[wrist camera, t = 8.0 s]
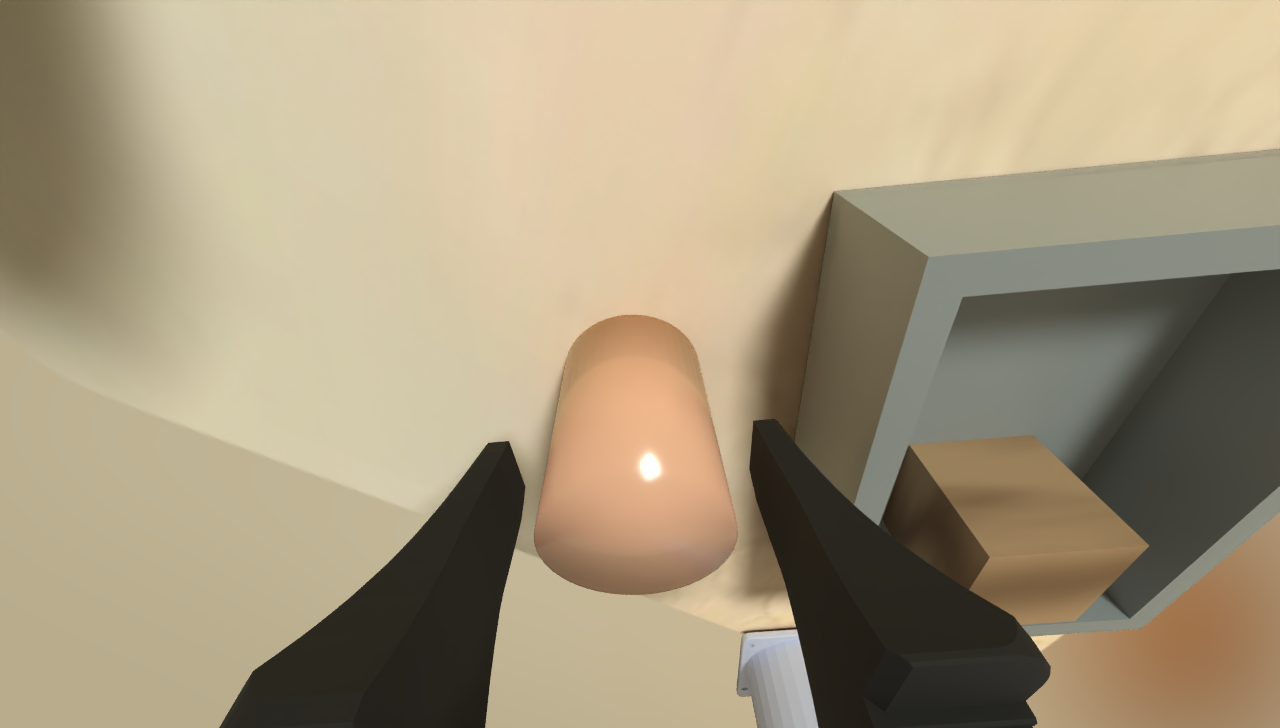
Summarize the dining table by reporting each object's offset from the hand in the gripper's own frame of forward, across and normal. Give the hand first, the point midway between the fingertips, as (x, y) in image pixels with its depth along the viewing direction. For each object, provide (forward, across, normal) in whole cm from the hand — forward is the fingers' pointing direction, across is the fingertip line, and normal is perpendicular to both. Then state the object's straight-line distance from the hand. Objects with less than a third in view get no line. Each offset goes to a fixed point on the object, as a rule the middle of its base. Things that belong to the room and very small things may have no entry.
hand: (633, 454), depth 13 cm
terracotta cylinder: (+4, 0, 0) cm, 4 cm away
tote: (+4, -14, +3) cm, 14 cm away
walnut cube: (+3, -14, +7) cm, 16 cm away
